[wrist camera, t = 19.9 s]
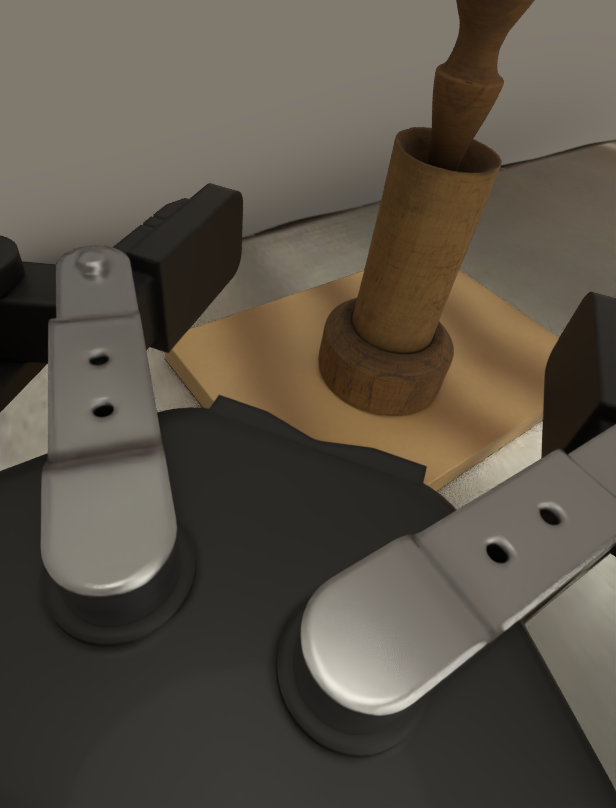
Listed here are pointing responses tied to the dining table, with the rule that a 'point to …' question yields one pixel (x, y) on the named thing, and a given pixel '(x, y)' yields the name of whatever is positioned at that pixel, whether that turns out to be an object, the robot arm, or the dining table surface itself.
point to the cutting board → (344, 423)
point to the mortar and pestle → (422, 232)
